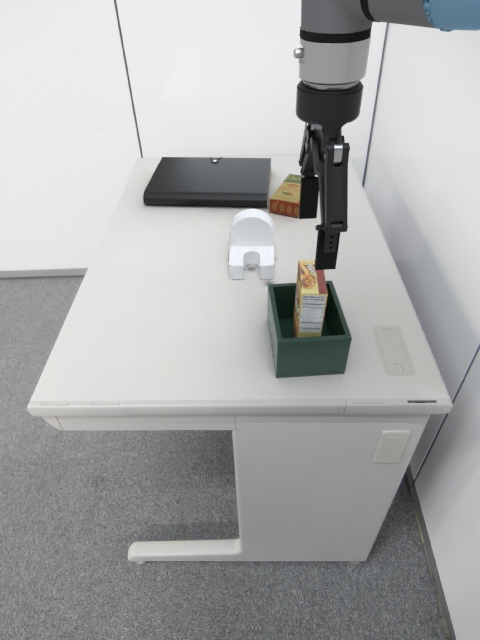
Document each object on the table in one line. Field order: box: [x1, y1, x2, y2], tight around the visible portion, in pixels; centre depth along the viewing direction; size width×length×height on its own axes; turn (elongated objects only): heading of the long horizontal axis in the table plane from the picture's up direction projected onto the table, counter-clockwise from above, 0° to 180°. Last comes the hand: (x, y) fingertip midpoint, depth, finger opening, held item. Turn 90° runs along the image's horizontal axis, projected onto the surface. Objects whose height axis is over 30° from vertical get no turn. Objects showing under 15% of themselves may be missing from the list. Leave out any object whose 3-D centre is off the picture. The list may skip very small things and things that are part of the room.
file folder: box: [142, 156, 272, 208], centre depth 125 cm, size 33×4×24 cm
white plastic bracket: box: [228, 208, 275, 280], centre depth 97 cm, size 10×18×11 cm, turn 178°
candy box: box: [293, 259, 328, 338], centre depth 73 cm, size 9×4×15 cm, turn 178°
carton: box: [268, 173, 304, 218], centre depth 117 cm, size 8×16×4 cm, turn 157°
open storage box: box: [266, 280, 353, 379], centre depth 76 cm, size 15×12×9 cm
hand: (315, 241), depth 64 cm, fingers open, 13 cm apart
